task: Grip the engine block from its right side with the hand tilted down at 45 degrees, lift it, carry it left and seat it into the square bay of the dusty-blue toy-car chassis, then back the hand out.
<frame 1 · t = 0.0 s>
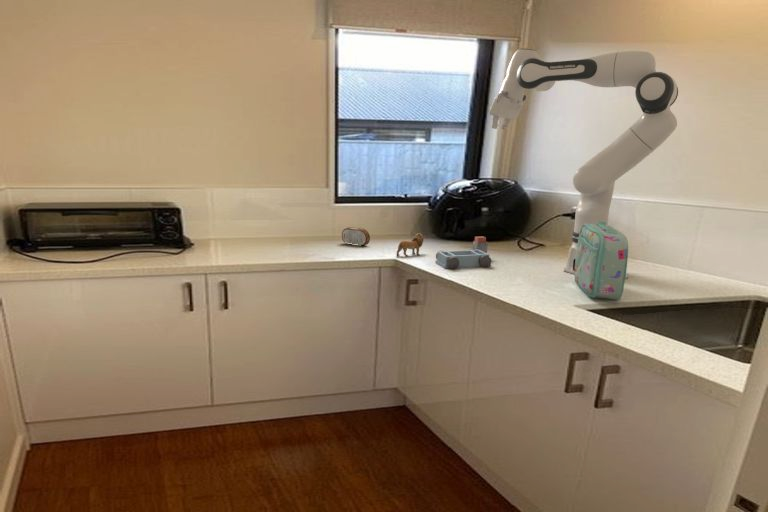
hand: (498, 128, 188), 52 cm above the worktop, tool tilted 20°, fingers open, 8 cm apart
lion figurine: (410, 255, 204), on the worktop
lunch box: (595, 291, 149), on the worktop
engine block: (479, 258, 197), on the worktop
chassis: (462, 264, 186), on the worktop
wooden speaker: (355, 245, 227), on the worktop
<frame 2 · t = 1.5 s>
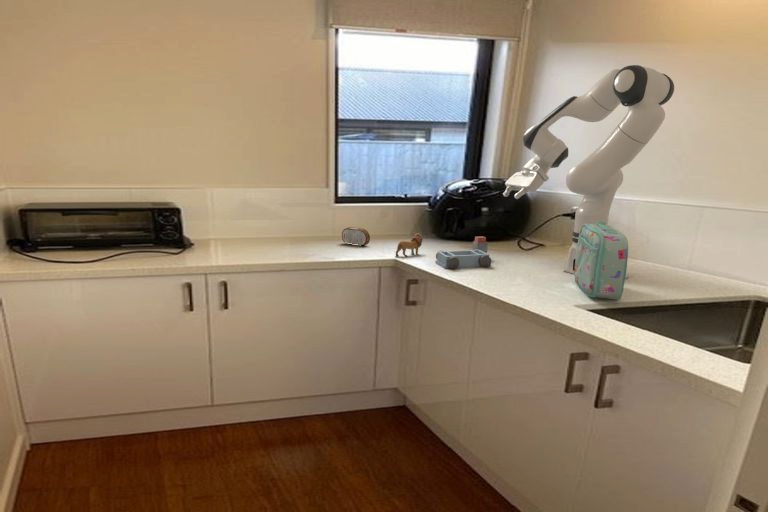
hand: (509, 196, 194), 25 cm above the worktop, tool tilted 45°, fingers open, 8 cm apart
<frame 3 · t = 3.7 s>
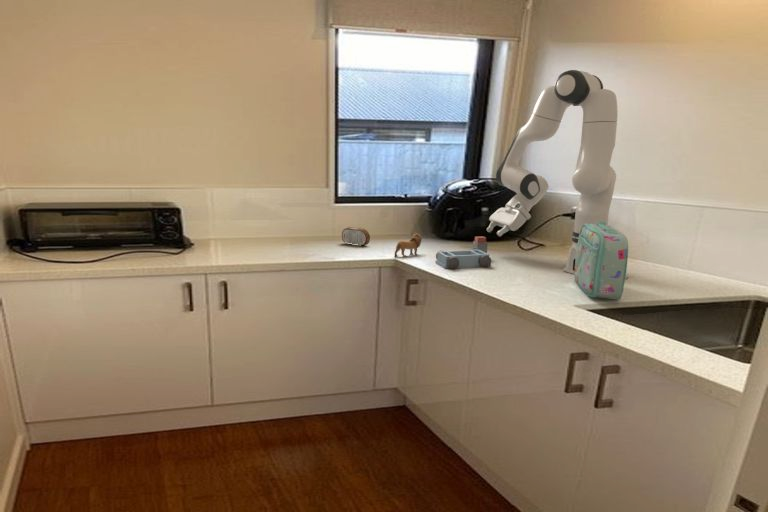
hand: (492, 233, 197), 10 cm above the worktop, tool tilted 45°, fingers open, 8 cm apart
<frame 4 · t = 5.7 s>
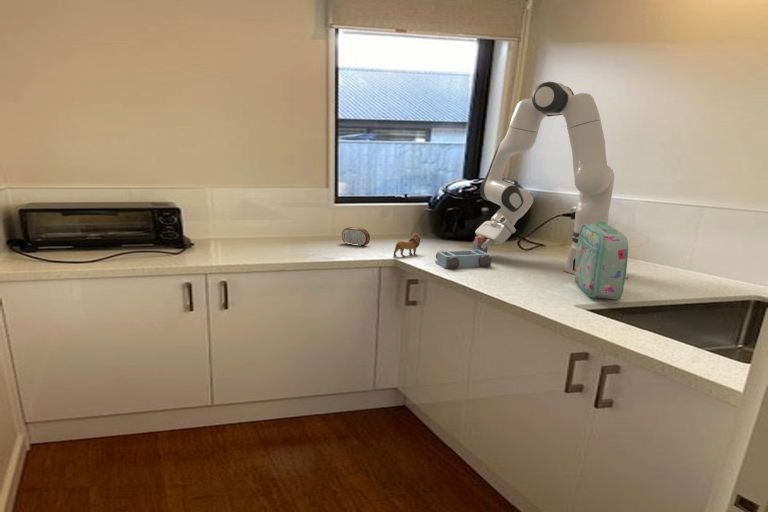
hand: (478, 246, 196), 5 cm above the worktop, tool tilted 45°, fingers closed on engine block, 4 cm apart
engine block: (479, 258, 197), on the worktop, touching gripper
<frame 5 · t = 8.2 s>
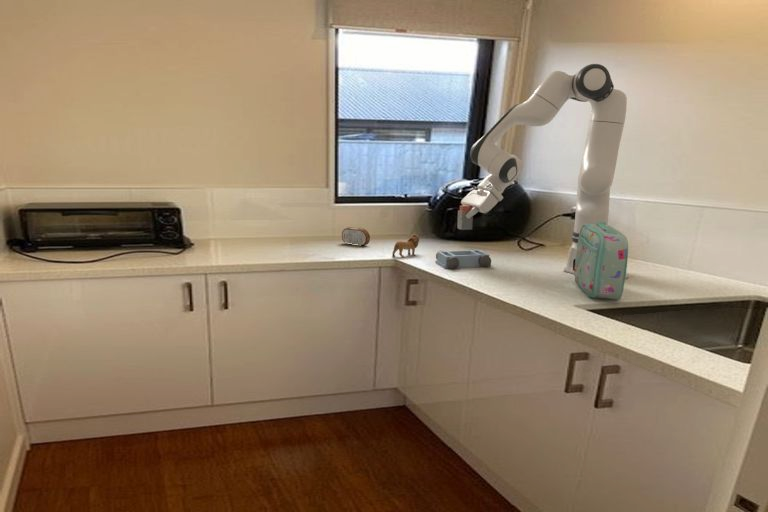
hand: (463, 216, 184), 19 cm above the worktop, tool tilted 45°, fingers closed on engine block, 4 cm apart
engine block: (464, 228, 185), point 14 cm above the worktop, touching gripper
when the fingers open (7 cm above the worktop, at t = 10.8 s): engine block drops 1 cm, resting on chassis.
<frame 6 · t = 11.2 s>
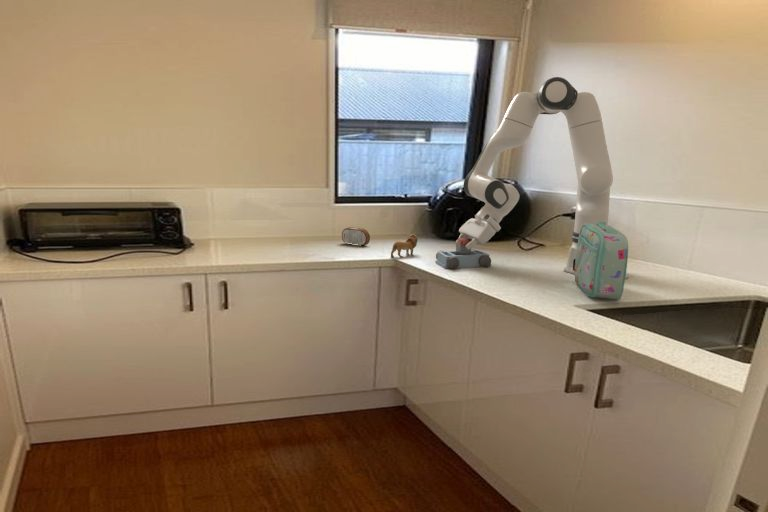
hand: (461, 245, 185), 7 cm above the worktop, tool tilted 45°, fingers open, 8 cm apart
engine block: (463, 261, 186), point 1 cm above the worktop, touching chassis
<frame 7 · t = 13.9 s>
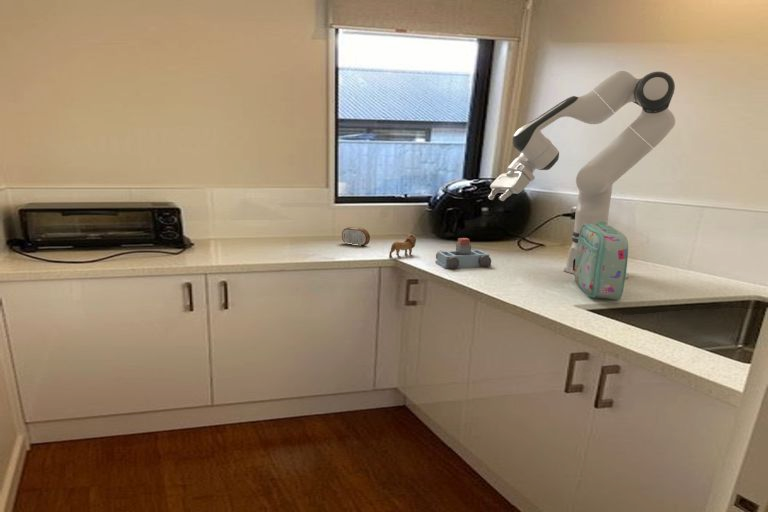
hand: (495, 199, 183), 25 cm above the worktop, tool tilted 45°, fingers open, 8 cm apart
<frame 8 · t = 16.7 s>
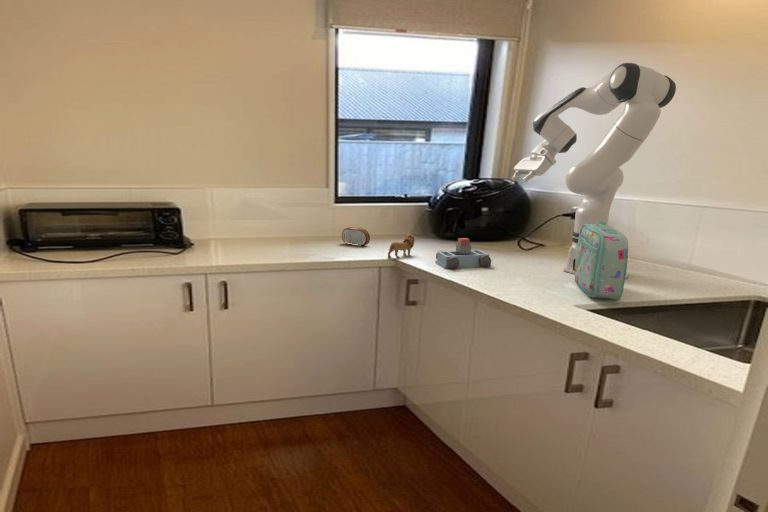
hand: (518, 180, 201), 31 cm above the worktop, tool tilted 45°, fingers open, 8 cm apart
at the end: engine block inside the target area on the chassis (0.1 cm from its centre), point 1.2 cm above the chassis's base; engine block tilted 0°; the gripper is holding nothing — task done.
